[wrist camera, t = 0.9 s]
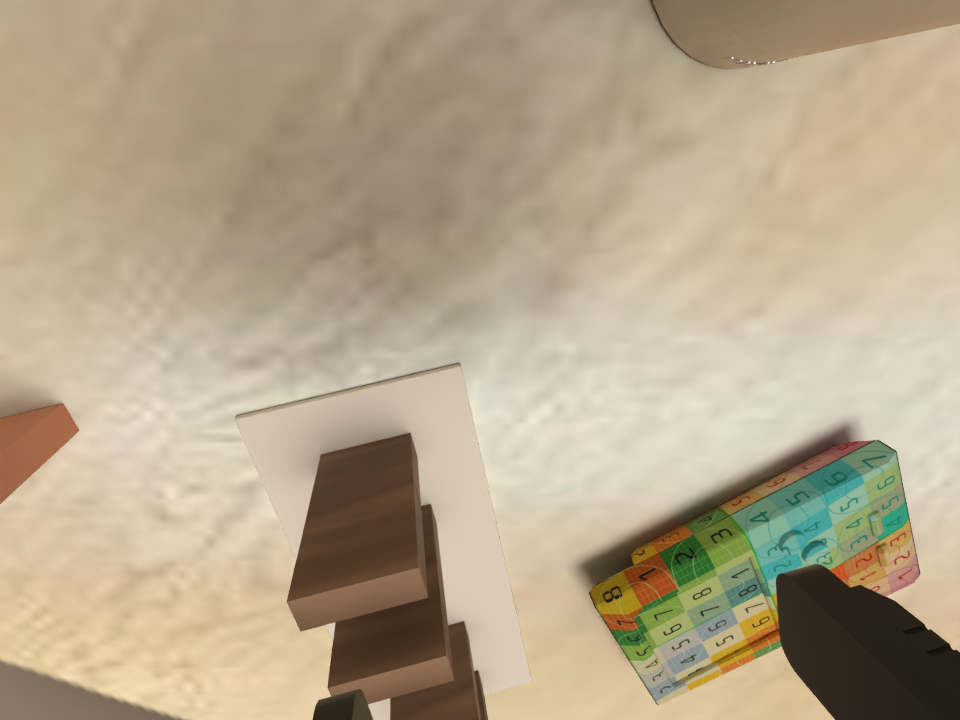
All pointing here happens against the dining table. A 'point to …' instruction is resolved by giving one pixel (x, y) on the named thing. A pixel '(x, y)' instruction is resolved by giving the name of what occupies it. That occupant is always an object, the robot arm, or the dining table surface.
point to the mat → (443, 483)
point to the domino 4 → (444, 689)
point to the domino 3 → (397, 639)
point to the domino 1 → (31, 443)
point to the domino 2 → (361, 535)
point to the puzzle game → (757, 565)
